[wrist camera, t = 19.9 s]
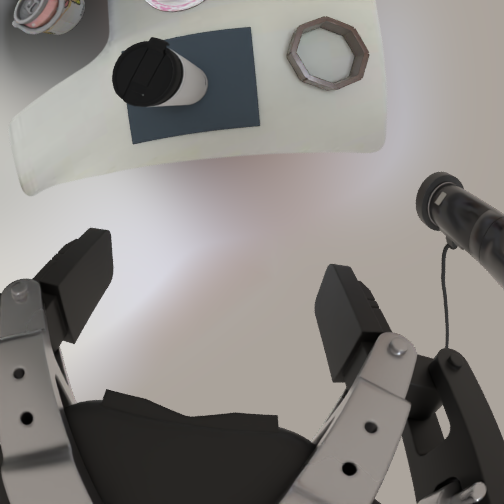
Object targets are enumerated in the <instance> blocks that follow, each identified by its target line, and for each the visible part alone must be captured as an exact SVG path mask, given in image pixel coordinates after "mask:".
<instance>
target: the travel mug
mask: <svg viewBox="0 0 504 504" xmlns="http://www.w3.org/2000/svg"><path fill="white" fill-rule="evenodd" d="M167 45H168V46H169V45H170V44H169V43H168V42H166V41H164V40H161V39H158V38H154V37H151V39H150V40H149V41H145V42H140V43H137V44H134V45H132V46H131V47H129V48H128V49H126V50H125V51H124V52H123V53H122V54H121V55H120V57H119V58H118V60H117V62H116V63H115V66H114V69H113V75H112V82H113V87H114V90H115V92H116V94H117V95H118V96H119V97H120V98H121V99H123V100H124V102H126V103H128V104H129V105H132V106H136V107H157V106H175V105H191V104H194V103H196V102H198V101H199V100H201V99H202V98H203V97H204V95H205V94H206V92H207V89H208V79H207V76H206V75H205V73H204V72H203V71H202V70H201V69H199V68H198V67H197V66H195V65H194V64H192V63H191V62H189V61H188V60H186V59H185V58H183V57H182V56H180V55H179V54H177V53H176V52H174V51H173V50H171V49H169V48H167V47H166V46H167Z"/></svg>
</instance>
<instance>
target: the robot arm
mask: <svg viewBox="0 0 504 504" xmlns="http://www.w3.org/2000/svg"><path fill="white" fill-rule="evenodd" d="M427 214H428V217H429V219H430V220H431V221H432V222H433V223H434V224H435V225H437V228H438V229H439V230H440V231H441V232H443V233H444V234H445V235H446V240H447V243H448V244H447V245H446V246H445V247H444V250H443V253H442V274H441V279H442V290H443V297H444V308H445V322H446V346H445V348H444V349H441V350H440V351H439V352H438V354H437V355H436V356H435V358H434V359H432V358H429V357H425V356H421V355H417V352H416V349H415V347H414V346H413V344H412V343H411V342H410V341H409V340H408V339H406V338H405V337H404V336H402V335H400V334H397V333H393V332H392V331H391V329H390V327H389V325H388V323H387V321H386V319H385V317H384V315H383V313H382V312H381V310H380V309H379V306H378V304H377V302H376V301H375V299H374V297H373V295H372V293H371V291H370V290H369V289H368V288H367V287H366V286H365V285H364V284H363V283H362V282H361V281H358V280H357V278H356V276H355V274H354V273H353V271H352V269H351V267H349V266H342V265H336V264H330V265H329V266H328V267H327V270H326V272H325V275H324V278H323V281H322V283H321V286H320V289H319V292H318V295H317V297H316V302H315V316H316V319H317V323H318V327H319V330H320V334H321V338H322V341H323V345H324V350H325V353H326V357H327V361H328V365H329V369H330V373H331V377H332V381H333V382H345V383H346V389H345V390H344V392H343V393H342V395H341V396H340V398H339V400H338V401H337V403H336V405H335V406H334V408H333V409H332V411H331V413H330V414H329V416H328V417H327V419H326V420H325V422H324V424H323V425H322V427H321V428H320V429H319V431H318V432H317V434H316V435H315V436H314V438H313V439H312V440H311V441H309V440H308V439H306V438H304V437H303V436H301V435H299V434H297V433H295V432H292V431H289V430H286V429H284V428H280V427H278V416H277V415H260V414H245V413H228V414H218V415H208V416H195V417H190V416H185V415H182V414H180V413H177V412H175V411H172V410H170V409H168V408H165V407H163V406H161V405H158V404H156V403H153V402H152V401H149V400H147V399H144V398H140V397H135V396H131V395H127V394H123V393H119V392H115V391H111V390H107V389H106V392H105V395H104V397H103V400H92V401H85V402H79V403H77V402H76V400H75V398H74V395H73V392H72V389H71V385H70V382H69V379H68V375H67V372H66V368H65V364H64V360H63V356H62V352H61V349H60V347H59V346H60V344H61V342H62V341H66V342H69V343H73V344H75V342H76V340H77V339H78V337H79V335H80V333H81V331H82V330H83V328H84V326H85V324H86V323H87V321H88V319H89V317H90V316H91V314H92V312H93V311H94V309H95V307H96V306H97V304H98V302H99V301H100V299H101V297H102V296H103V294H104V292H105V291H106V289H107V288H108V286H109V284H110V283H111V280H112V276H113V257H112V243H111V234H110V231H109V230H103V229H96V228H89V229H88V230H87V231H86V232H85V233H84V234H83V235H82V236H81V237H80V238H79V239H75V240H73V241H71V242H70V243H68V244H66V245H65V246H64V247H63V248H62V249H61V250H60V251H59V252H58V254H56V255H55V256H54V257H53V258H52V260H50V261H49V262H48V263H47V264H46V265H45V266H44V267H43V268H42V269H41V270H40V272H39V273H38V274H37V275H36V276H35V277H34V278H33V279H20V280H16V281H14V282H12V283H11V284H9V285H8V286H7V287H6V288H5V289H4V290H3V292H2V293H0V504H381V503H379V502H378V501H377V500H376V499H375V496H376V494H377V492H378V490H379V488H380V486H381V484H382V482H383V480H384V477H385V475H386V473H387V471H388V468H389V466H390V463H391V461H392V459H393V456H394V454H395V451H396V449H397V446H398V443H399V441H400V438H401V436H402V438H403V442H404V446H405V450H406V454H407V458H408V463H409V467H410V472H411V477H412V481H413V486H414V491H415V496H416V502H417V504H504V440H503V438H502V435H501V432H500V430H499V428H498V425H497V423H496V420H495V418H494V416H493V413H492V411H491V409H490V407H489V405H488V403H487V400H486V398H485V396H484V394H483V392H482V390H481V388H480V386H479V384H478V382H477V380H476V378H475V376H474V374H473V372H472V370H471V368H470V366H469V364H468V363H467V361H466V360H465V358H464V357H463V356H462V355H461V354H460V353H458V352H457V351H455V350H453V349H449V348H448V341H449V327H448V326H449V324H448V307H447V295H446V287H445V258H446V252H447V250H448V248H451V249H456V248H457V246H459V247H460V248H461V249H462V250H464V249H465V250H466V251H467V252H468V253H469V254H470V255H471V256H472V257H473V258H474V259H476V260H477V261H478V262H479V263H480V264H481V265H482V266H483V267H484V268H485V269H486V270H487V271H488V272H489V273H490V274H491V276H492V277H493V278H494V279H495V280H496V281H497V282H498V284H499V285H500V286H501V287H502V288H503V289H504V214H503V213H501V212H500V211H498V210H497V209H495V208H494V207H492V206H491V205H489V204H487V203H486V202H484V201H483V200H481V199H479V198H478V197H476V196H474V195H473V194H471V193H469V192H467V191H466V190H464V189H462V188H460V187H459V186H457V185H456V184H454V183H452V182H449V181H445V182H442V183H440V184H438V185H437V186H436V187H435V188H434V189H433V190H432V192H431V194H430V196H429V198H428V202H427ZM442 405H443V406H444V409H445V411H446V414H447V417H448V419H449V422H450V433H449V435H448V437H447V438H446V439H445V440H444V437H443V434H442V431H441V428H440V425H439V422H438V419H437V416H436V413H435V412H436V411H437V410H438V409H439V408H440V407H441V406H442Z"/></svg>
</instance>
